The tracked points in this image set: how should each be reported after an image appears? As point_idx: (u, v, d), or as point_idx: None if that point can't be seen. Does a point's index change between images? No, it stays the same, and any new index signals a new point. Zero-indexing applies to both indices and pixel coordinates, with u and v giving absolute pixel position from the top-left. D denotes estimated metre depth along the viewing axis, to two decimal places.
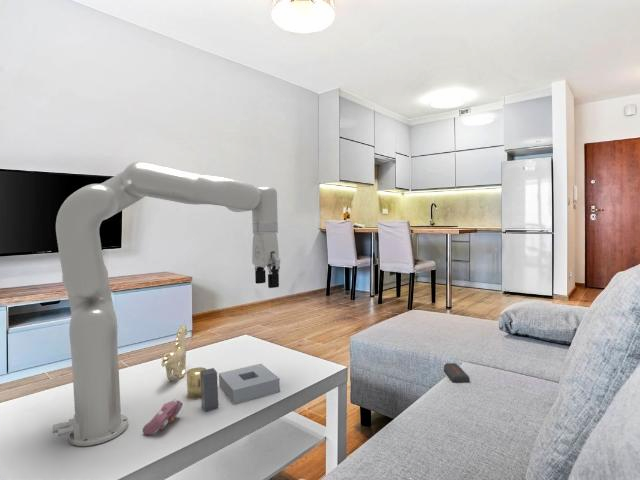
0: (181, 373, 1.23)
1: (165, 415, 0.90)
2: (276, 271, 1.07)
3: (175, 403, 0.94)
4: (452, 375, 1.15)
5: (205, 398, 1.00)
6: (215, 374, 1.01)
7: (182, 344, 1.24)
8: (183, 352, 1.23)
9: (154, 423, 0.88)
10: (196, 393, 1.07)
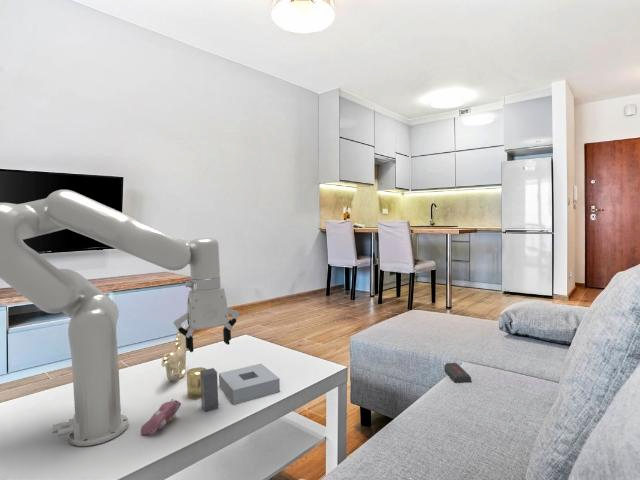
0: (181, 373, 1.23)
1: (163, 415, 0.90)
2: None
3: (173, 403, 0.94)
4: (454, 375, 1.15)
5: (205, 398, 1.00)
6: (215, 374, 1.01)
7: (182, 344, 1.24)
8: (183, 352, 1.23)
9: (152, 422, 0.89)
10: (196, 393, 1.07)
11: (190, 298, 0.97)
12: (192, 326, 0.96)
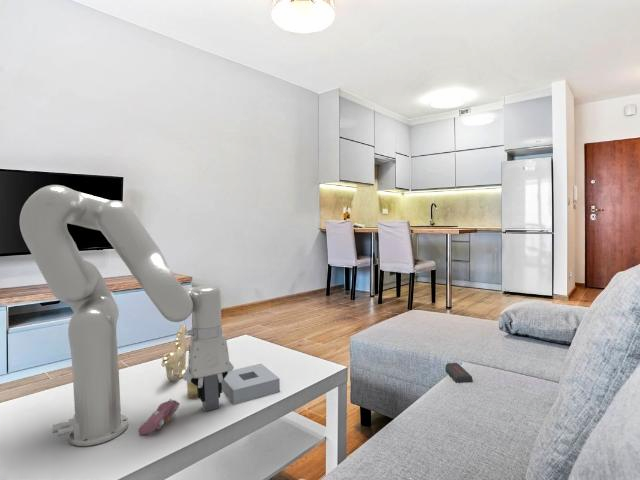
0: (181, 373, 1.23)
1: (161, 415, 0.90)
2: None
3: (171, 403, 0.94)
4: (456, 375, 1.15)
5: (206, 397, 1.00)
6: None
7: (182, 344, 1.24)
8: (183, 352, 1.23)
9: (150, 422, 0.89)
10: (196, 393, 1.07)
11: (191, 347, 0.97)
12: (193, 375, 0.97)
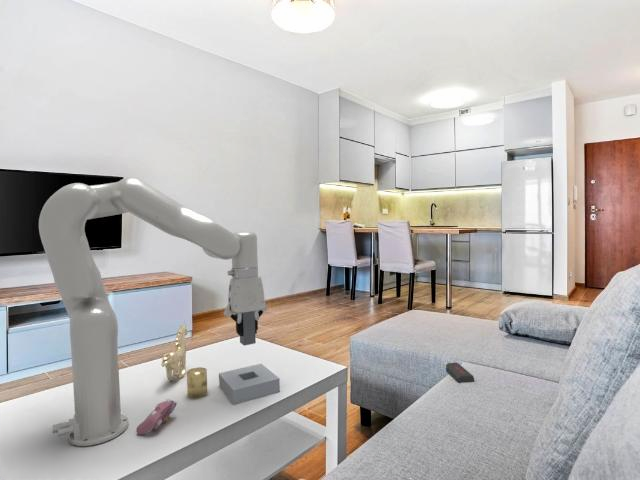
0: (181, 373, 1.23)
1: (159, 415, 0.90)
2: None
3: (169, 403, 0.94)
4: (457, 375, 1.15)
5: (244, 333, 1.10)
6: (253, 312, 1.11)
7: (182, 344, 1.24)
8: (183, 352, 1.23)
9: (147, 422, 0.89)
10: (196, 393, 1.07)
11: (232, 285, 1.08)
12: (234, 310, 1.07)
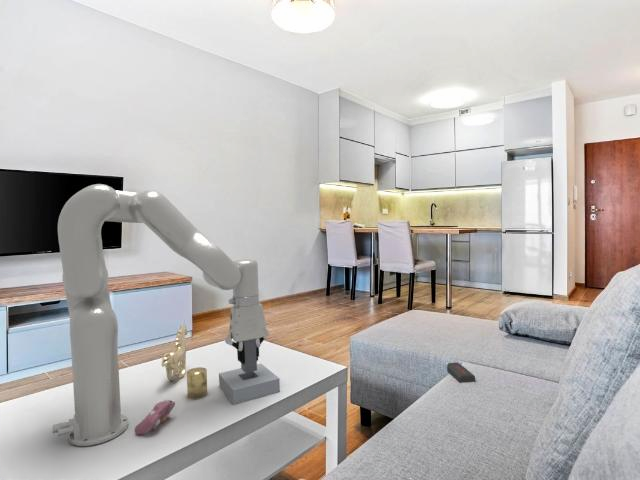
0: (181, 373, 1.23)
1: (157, 415, 0.90)
2: None
3: (167, 403, 0.94)
4: (459, 375, 1.15)
5: (245, 360, 1.10)
6: (254, 339, 1.11)
7: (182, 344, 1.24)
8: (183, 352, 1.23)
9: (146, 422, 0.89)
10: (196, 393, 1.07)
11: (233, 313, 1.08)
12: (235, 339, 1.08)
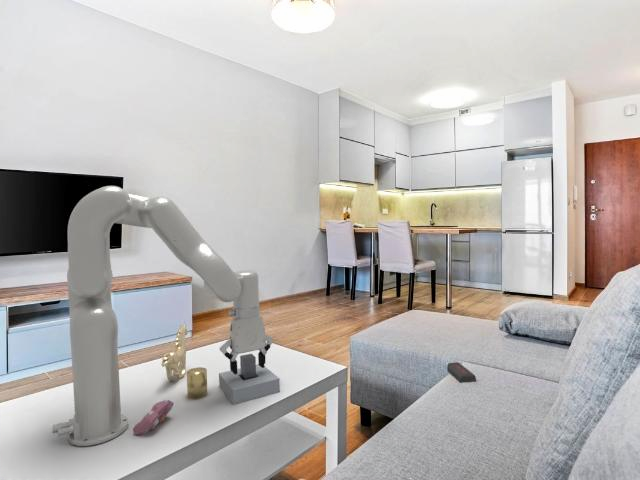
0: (181, 373, 1.23)
1: (156, 415, 0.90)
2: None
3: (166, 403, 0.94)
4: (459, 375, 1.15)
5: None
6: (254, 359, 1.11)
7: (182, 344, 1.24)
8: (183, 352, 1.23)
9: (144, 422, 0.89)
10: (196, 393, 1.07)
11: (233, 325, 1.08)
12: (235, 350, 1.08)
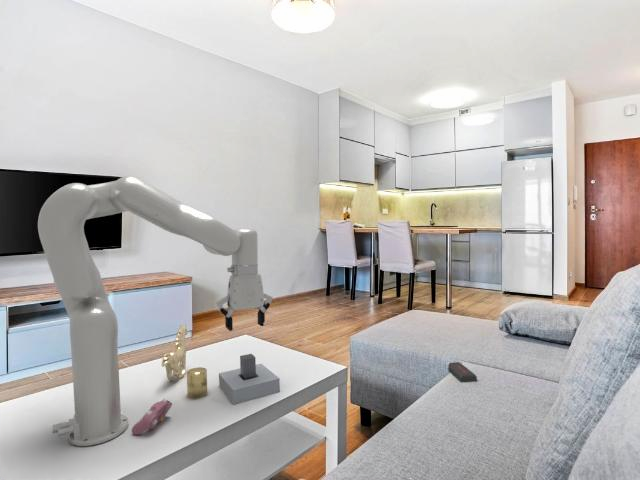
0: (181, 373, 1.23)
1: (154, 415, 0.90)
2: None
3: (164, 403, 0.94)
4: (460, 374, 1.15)
5: None
6: (253, 359, 1.11)
7: (182, 344, 1.24)
8: (183, 352, 1.23)
9: (143, 422, 0.89)
10: (196, 393, 1.07)
11: (231, 282, 1.08)
12: (233, 307, 1.07)
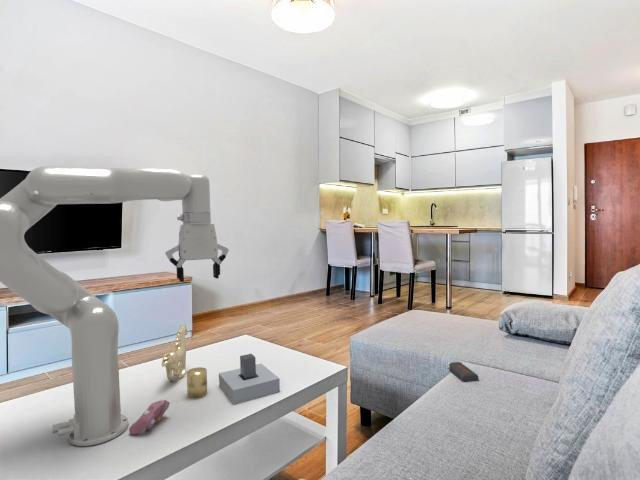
0: (181, 373, 1.23)
1: (152, 414, 0.90)
2: None
3: (162, 402, 0.94)
4: (462, 374, 1.15)
5: None
6: (253, 359, 1.11)
7: (182, 344, 1.23)
8: (183, 352, 1.23)
9: (140, 422, 0.89)
10: (196, 393, 1.07)
11: (181, 230, 1.02)
12: (183, 256, 1.01)
